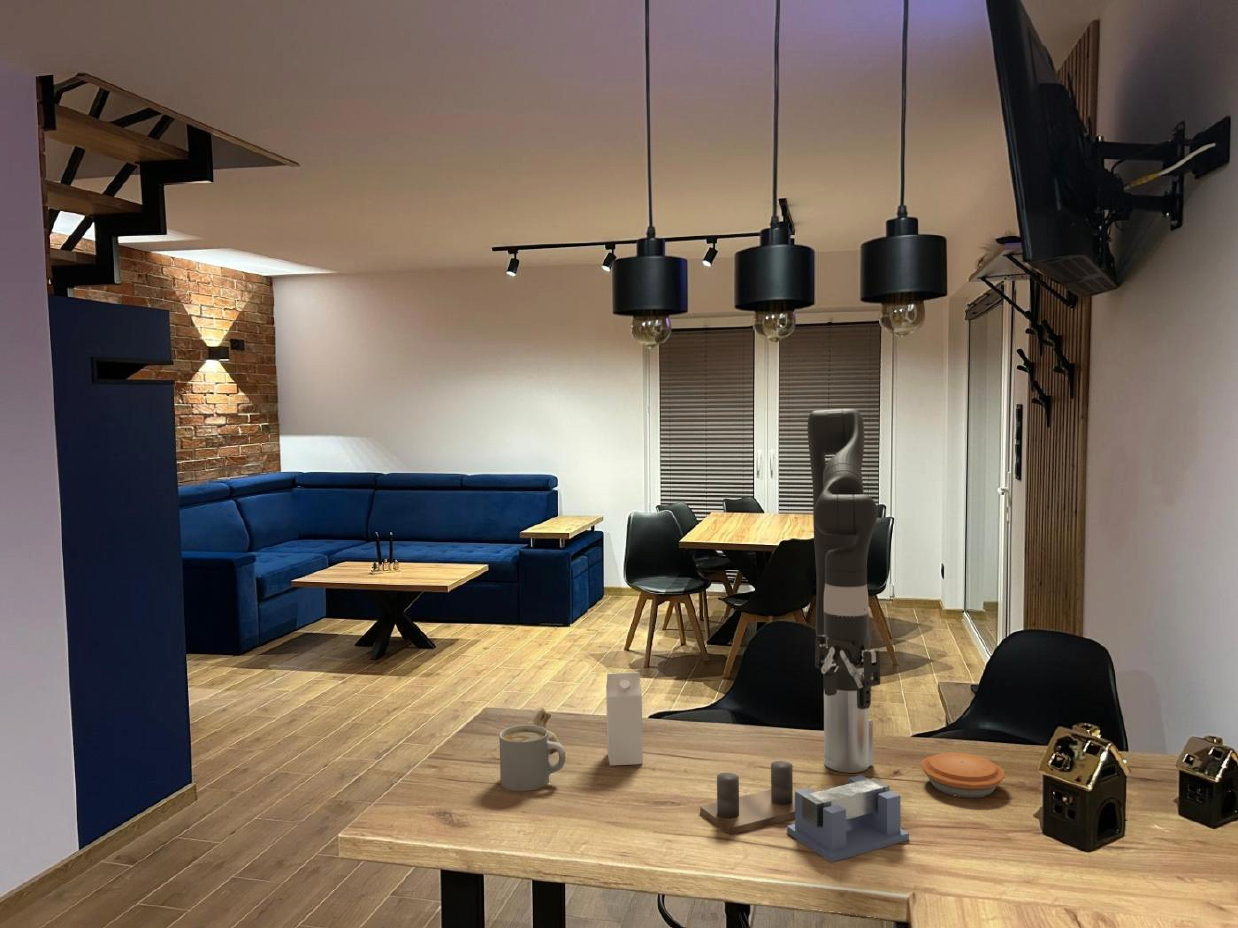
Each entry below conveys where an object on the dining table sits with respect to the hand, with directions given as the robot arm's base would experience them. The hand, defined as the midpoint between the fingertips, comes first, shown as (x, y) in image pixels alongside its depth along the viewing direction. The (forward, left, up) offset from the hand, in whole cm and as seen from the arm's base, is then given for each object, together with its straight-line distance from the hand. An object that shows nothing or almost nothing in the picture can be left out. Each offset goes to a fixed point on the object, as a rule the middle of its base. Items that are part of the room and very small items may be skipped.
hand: (846, 701), depth 153 cm
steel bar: (0, 0, -20) cm, 20 cm away
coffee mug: (+41, -48, -24) cm, 68 cm away
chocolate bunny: (+33, -63, -24) cm, 75 cm away
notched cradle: (0, 0, -24) cm, 24 cm away
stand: (+9, -15, -24) cm, 30 cm away
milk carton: (+19, -50, -24) cm, 59 cm away
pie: (-34, -6, -24) cm, 42 cm away
